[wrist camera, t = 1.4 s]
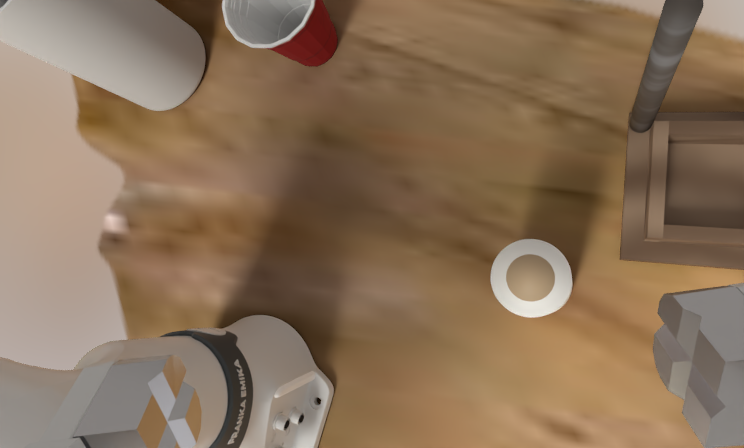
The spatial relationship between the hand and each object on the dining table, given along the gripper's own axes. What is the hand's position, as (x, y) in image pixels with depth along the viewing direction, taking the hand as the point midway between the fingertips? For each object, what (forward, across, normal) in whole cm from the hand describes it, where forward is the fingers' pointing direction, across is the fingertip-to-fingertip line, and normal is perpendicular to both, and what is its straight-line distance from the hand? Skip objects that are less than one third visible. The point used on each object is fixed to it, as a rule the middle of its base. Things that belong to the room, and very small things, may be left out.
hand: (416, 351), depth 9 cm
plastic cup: (+62, -8, -8) cm, 63 cm away
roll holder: (+37, +28, -20) cm, 51 cm away
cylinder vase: (+68, -29, -9) cm, 75 cm away
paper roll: (+36, +12, -28) cm, 47 cm away
